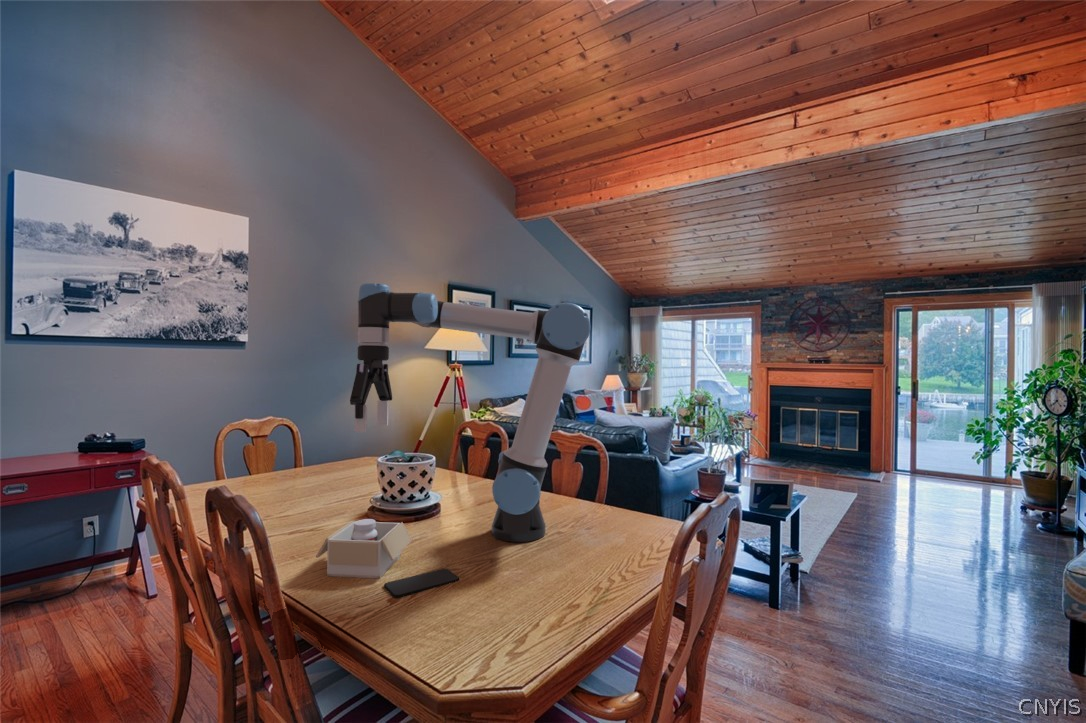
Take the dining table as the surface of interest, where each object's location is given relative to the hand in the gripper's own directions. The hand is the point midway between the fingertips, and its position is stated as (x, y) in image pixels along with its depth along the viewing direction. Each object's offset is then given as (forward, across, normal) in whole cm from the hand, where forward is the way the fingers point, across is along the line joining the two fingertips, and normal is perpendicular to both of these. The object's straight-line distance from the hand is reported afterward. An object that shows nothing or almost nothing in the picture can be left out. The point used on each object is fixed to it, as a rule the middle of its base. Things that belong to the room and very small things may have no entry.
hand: (372, 428), depth 125 cm
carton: (+31, +10, +3) cm, 32 cm away
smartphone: (+31, +17, +19) cm, 41 cm away
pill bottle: (+30, +10, +3) cm, 32 cm away
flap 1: (+22, +10, -3) cm, 24 cm away
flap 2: (+22, +10, +9) cm, 26 cm away
